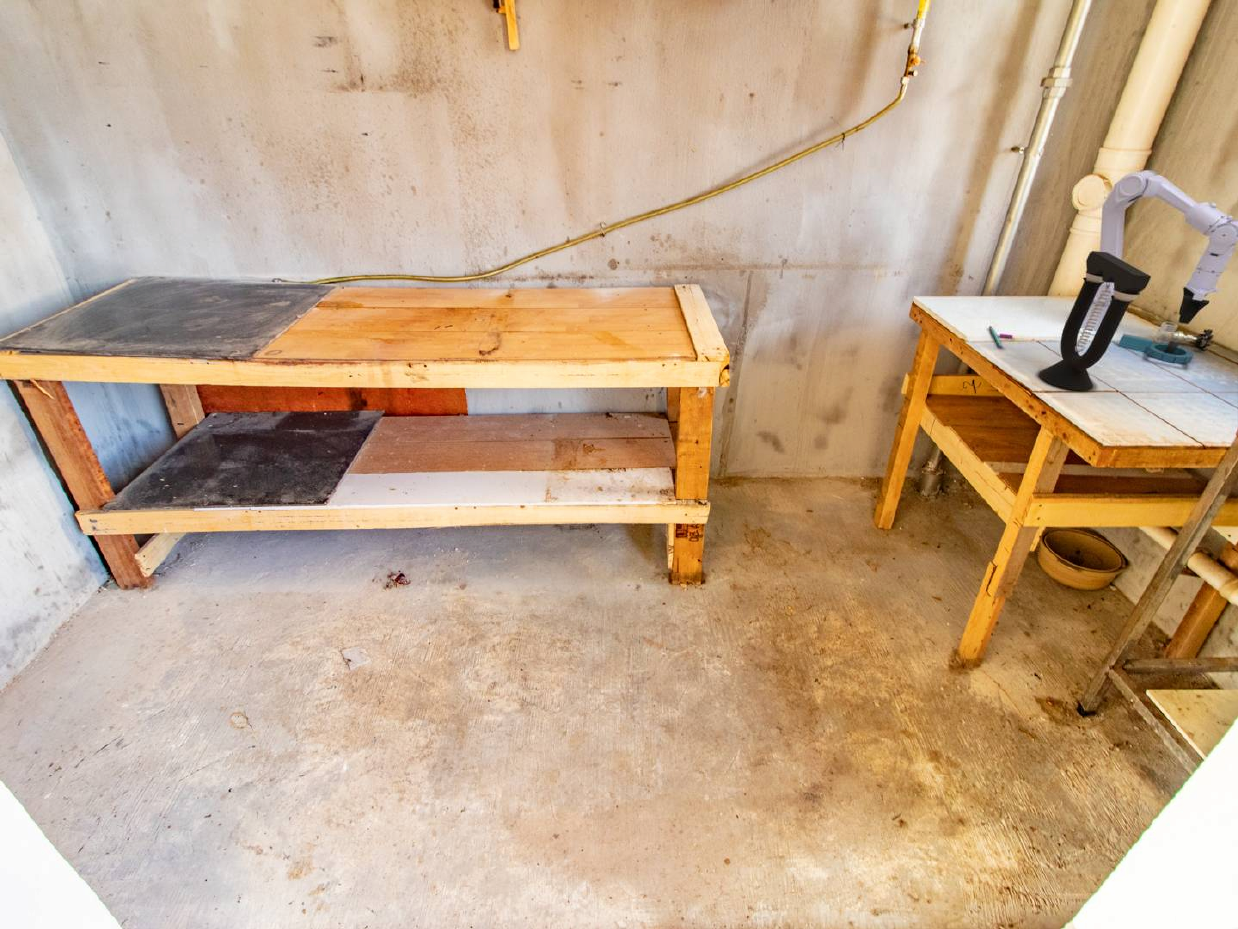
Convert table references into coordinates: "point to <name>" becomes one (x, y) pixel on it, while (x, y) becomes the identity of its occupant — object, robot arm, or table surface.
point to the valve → (1182, 336)
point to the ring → (1155, 349)
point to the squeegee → (1000, 336)
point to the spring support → (1126, 289)
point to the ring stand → (1171, 349)
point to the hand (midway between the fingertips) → (1183, 318)
